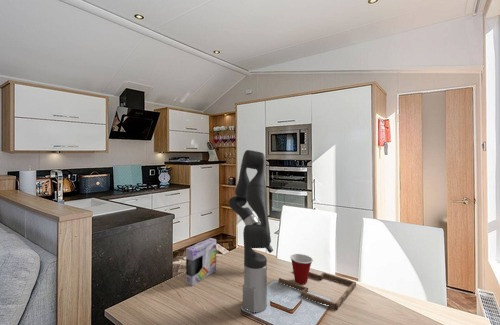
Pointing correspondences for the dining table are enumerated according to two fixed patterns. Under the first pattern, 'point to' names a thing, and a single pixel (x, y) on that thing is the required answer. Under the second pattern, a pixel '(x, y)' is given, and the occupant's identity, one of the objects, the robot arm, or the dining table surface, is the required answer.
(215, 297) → the dining table surface
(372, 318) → the dining table surface
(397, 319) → the dining table surface
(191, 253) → the cake pan box
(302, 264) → the plastic cup
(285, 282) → the T fence
